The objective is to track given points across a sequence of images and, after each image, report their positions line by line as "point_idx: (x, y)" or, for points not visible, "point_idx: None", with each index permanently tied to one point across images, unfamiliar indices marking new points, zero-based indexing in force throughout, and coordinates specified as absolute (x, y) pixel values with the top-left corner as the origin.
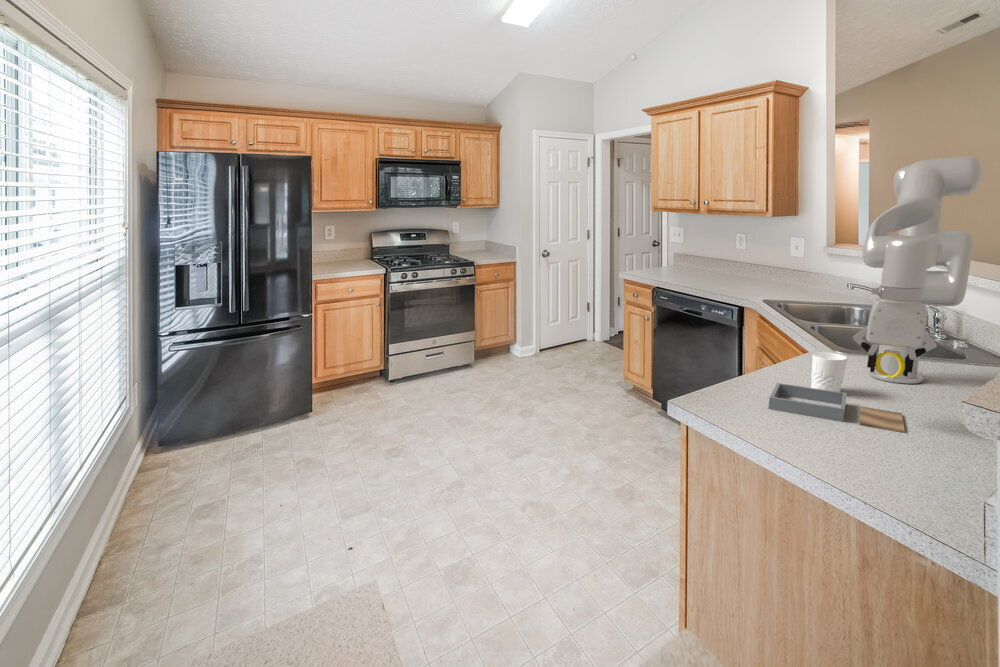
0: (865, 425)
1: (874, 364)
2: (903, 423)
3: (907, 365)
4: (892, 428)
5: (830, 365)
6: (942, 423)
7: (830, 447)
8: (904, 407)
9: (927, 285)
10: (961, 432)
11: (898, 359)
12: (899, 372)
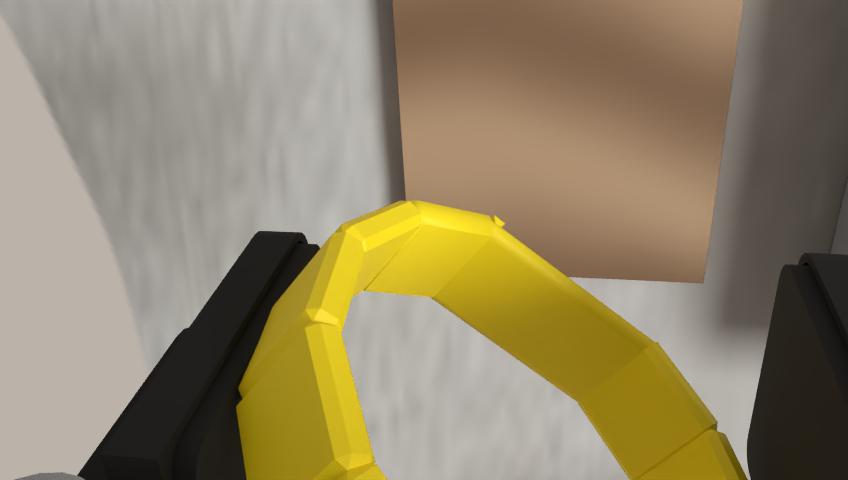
0: None
1: (845, 361)
2: (392, 1)
3: (202, 354)
4: None
5: None
6: (171, 219)
7: None
8: (399, 433)
9: None
10: (49, 85)
11: (344, 426)
12: (364, 220)
